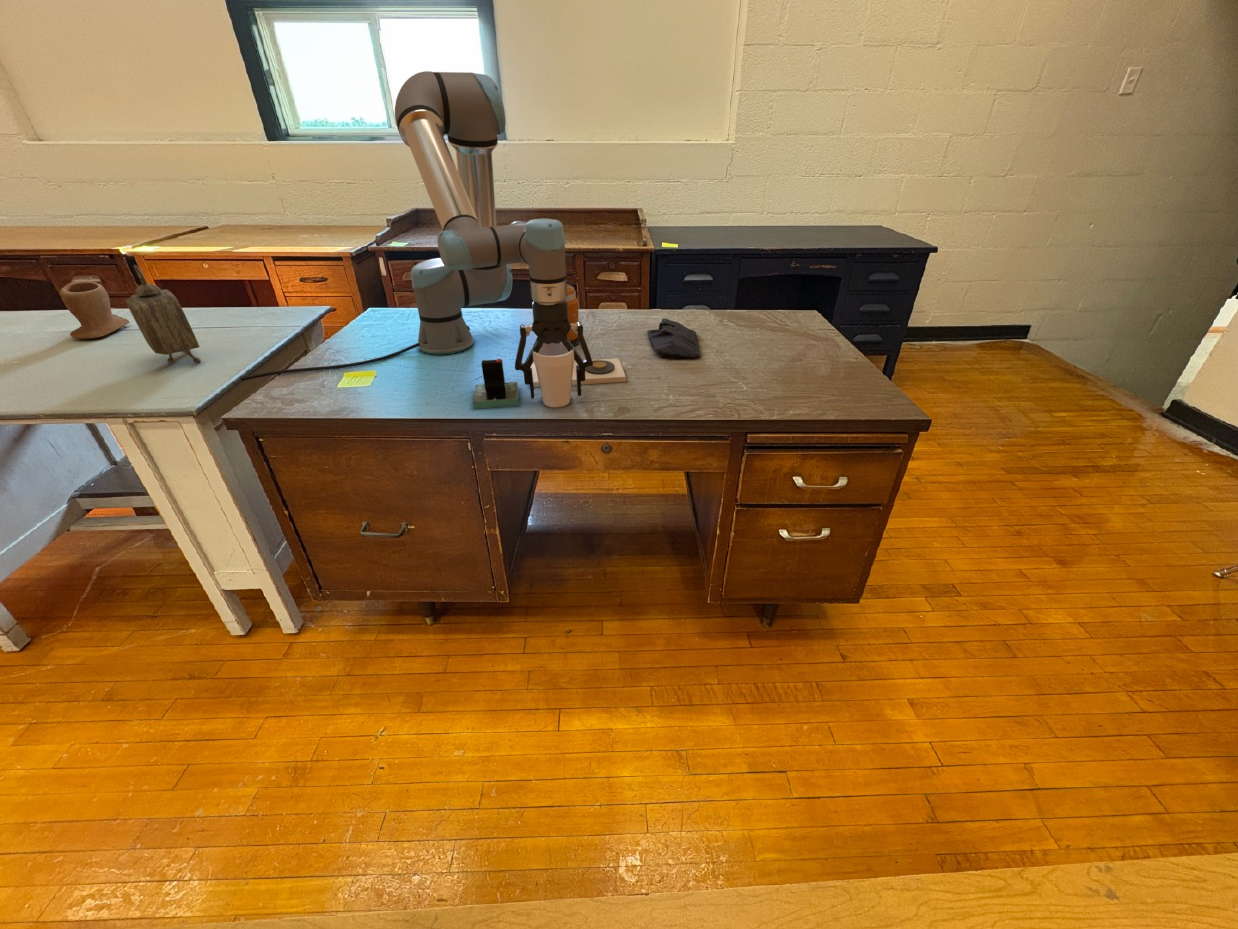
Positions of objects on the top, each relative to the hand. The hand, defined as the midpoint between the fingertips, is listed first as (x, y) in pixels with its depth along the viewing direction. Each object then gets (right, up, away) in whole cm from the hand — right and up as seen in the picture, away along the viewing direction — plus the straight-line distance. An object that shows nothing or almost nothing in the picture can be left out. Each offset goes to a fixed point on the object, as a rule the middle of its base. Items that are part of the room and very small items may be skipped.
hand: (556, 394), depth 123 cm
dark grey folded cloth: (+31, +19, +31) cm, 48 cm away
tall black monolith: (-14, +1, 0) cm, 14 cm away
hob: (+4, +7, +13) cm, 15 cm away
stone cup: (-142, +24, +37) cm, 149 cm away
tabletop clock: (-105, +12, +19) cm, 107 cm away
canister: (-1, +19, +31) cm, 36 cm away
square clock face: (-14, -1, +2) cm, 14 cm away
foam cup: (0, -2, +1) cm, 2 cm away
